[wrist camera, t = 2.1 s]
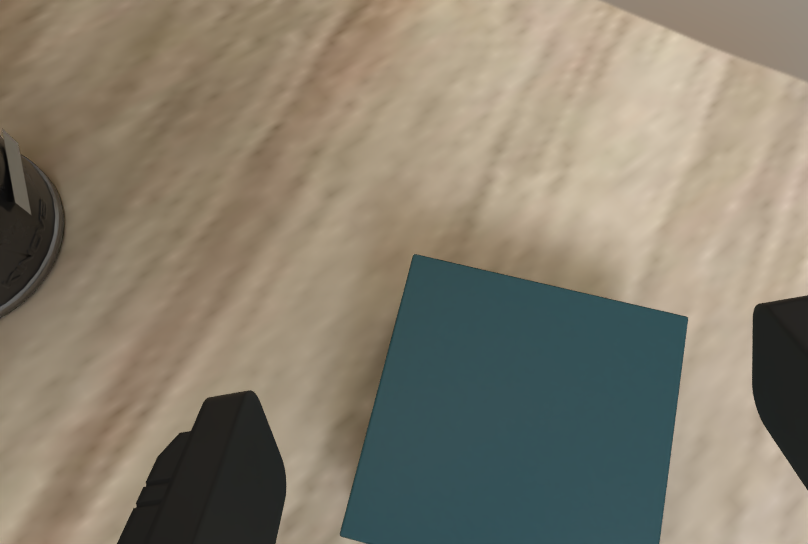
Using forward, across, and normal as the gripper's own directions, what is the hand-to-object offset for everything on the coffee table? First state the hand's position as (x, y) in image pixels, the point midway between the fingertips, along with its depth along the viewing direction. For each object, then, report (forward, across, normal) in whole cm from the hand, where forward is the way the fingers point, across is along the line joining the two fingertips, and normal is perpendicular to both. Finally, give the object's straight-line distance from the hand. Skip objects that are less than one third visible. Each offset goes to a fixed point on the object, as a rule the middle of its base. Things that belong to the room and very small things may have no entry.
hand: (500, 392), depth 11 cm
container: (+15, 0, +14) cm, 20 cm away
